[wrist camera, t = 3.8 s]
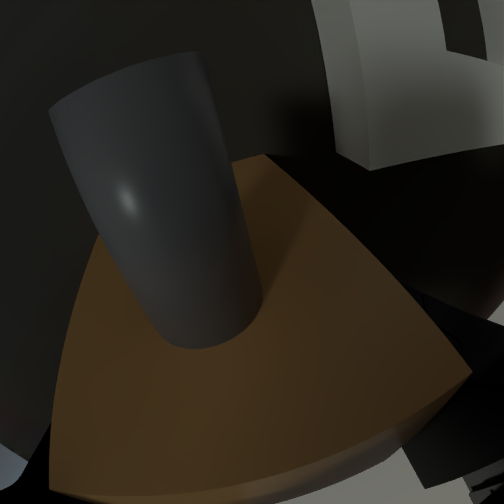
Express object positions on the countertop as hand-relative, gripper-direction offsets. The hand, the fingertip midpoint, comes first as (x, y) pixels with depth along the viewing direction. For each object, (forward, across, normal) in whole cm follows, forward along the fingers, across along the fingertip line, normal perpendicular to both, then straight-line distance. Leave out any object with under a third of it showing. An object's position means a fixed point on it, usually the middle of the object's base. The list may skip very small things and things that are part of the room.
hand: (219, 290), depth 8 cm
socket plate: (+2, -12, -9) cm, 15 cm away
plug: (+2, 0, -1) cm, 3 cm away
